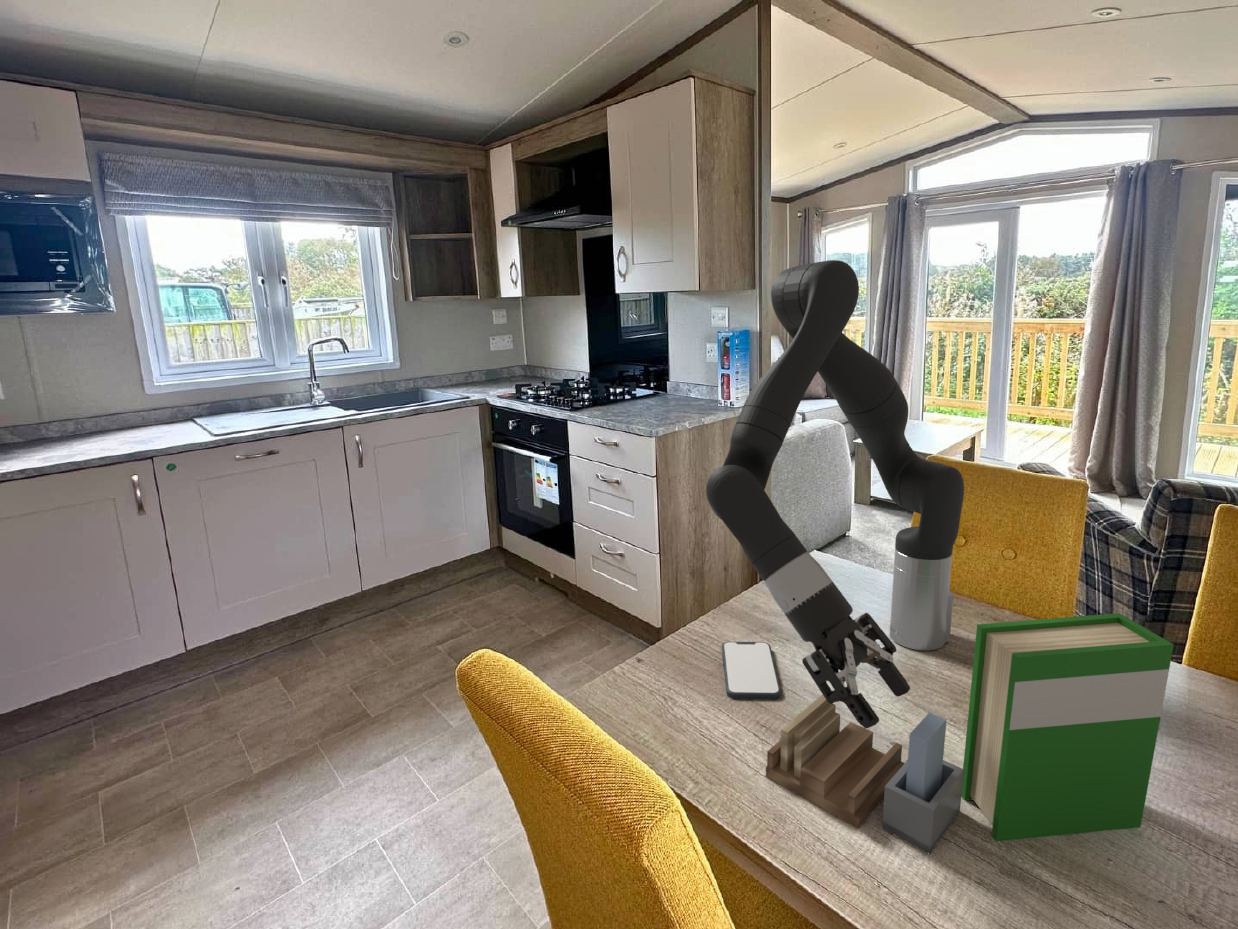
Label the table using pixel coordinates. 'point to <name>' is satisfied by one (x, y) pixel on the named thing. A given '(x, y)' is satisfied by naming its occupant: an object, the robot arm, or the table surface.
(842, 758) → the rack
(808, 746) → the offcut stack
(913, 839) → the bin
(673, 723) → the table surface
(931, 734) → the blue-grey rectangular block
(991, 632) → the hardback book
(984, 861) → the table surface
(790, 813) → the table surface
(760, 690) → the notched smartphone
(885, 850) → the table surface
